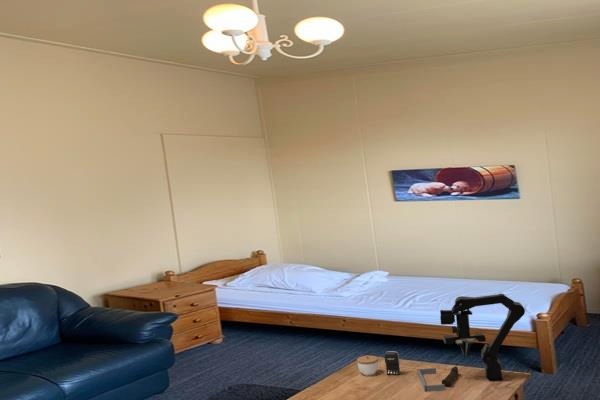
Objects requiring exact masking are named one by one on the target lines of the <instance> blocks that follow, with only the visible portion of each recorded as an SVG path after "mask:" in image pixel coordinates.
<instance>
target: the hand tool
mask: <svg viewBox="0 0 600 400" xmlns="http://www.w3.org/2000/svg"><path fill="white" fill-rule="evenodd" d="M458 376H459V368H458V365H457V366H453V367H452V368H451V369H450V372H449V373H448V374H447V375H446V377H445V378H444V379H442V380H441V384H444V385H445V388H450V387H451V384H452V383H453V382H454V381H455V380H456V379H457V378H458Z"/></svg>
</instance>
